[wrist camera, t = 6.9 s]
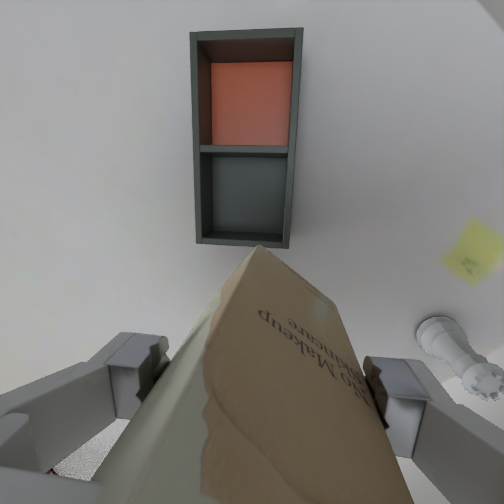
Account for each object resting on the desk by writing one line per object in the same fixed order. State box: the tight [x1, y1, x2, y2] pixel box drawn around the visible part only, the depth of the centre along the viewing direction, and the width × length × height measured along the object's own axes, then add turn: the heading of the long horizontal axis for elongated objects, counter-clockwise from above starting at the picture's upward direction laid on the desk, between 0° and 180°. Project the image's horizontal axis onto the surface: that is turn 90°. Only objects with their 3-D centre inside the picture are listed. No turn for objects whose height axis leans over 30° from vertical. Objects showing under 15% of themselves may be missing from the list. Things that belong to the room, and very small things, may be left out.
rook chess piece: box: [416, 316, 504, 401], centre depth 24 cm, size 4×4×8 cm
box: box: [90, 245, 414, 504], centre depth 8 cm, size 5×4×11 cm
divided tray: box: [190, 27, 304, 249], centre depth 24 cm, size 9×17×4 cm, turn 178°
